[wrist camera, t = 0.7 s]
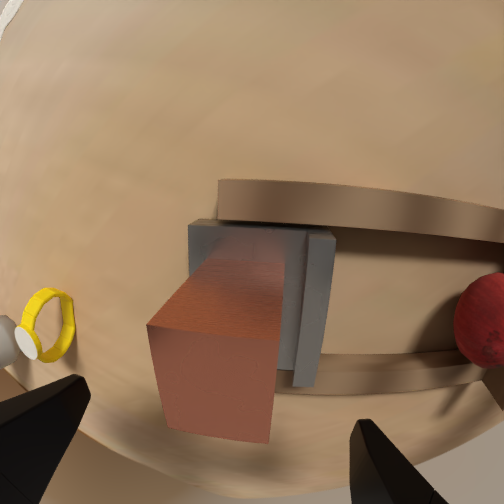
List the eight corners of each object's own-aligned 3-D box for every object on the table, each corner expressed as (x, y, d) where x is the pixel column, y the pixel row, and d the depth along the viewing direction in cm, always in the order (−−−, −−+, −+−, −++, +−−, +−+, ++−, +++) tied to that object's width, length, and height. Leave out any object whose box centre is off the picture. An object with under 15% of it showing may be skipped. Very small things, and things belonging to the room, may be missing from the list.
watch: (57, 276, 20) (7, 298, 14) (80, 285, 20) (29, 311, 14) (61, 336, 21) (21, 366, 15) (83, 347, 21) (43, 380, 15)
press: (326, 225, 16) (367, 288, 7) (311, 352, 18) (317, 466, 9) (199, 218, 16) (111, 268, 8) (203, 342, 19) (153, 443, 10)
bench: (525, 215, 13) (578, 233, 8) (483, 364, 17) (514, 406, 11) (226, 178, 16) (191, 183, 10) (226, 368, 19) (206, 430, 14)
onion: (462, 343, 17) (510, 408, 9) (420, 312, 16) (476, 386, 9) (504, 283, 15) (568, 330, 7) (469, 241, 15) (548, 284, 7)
